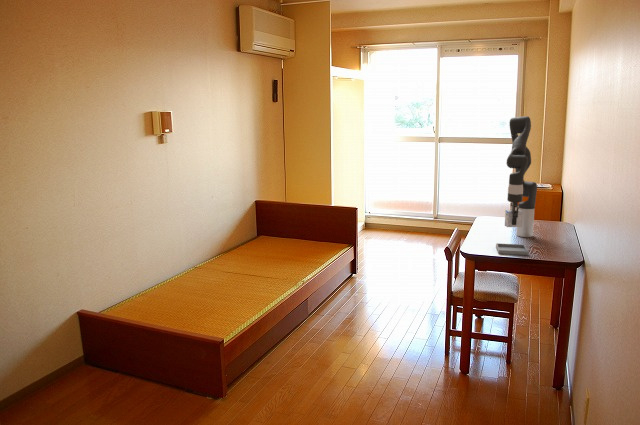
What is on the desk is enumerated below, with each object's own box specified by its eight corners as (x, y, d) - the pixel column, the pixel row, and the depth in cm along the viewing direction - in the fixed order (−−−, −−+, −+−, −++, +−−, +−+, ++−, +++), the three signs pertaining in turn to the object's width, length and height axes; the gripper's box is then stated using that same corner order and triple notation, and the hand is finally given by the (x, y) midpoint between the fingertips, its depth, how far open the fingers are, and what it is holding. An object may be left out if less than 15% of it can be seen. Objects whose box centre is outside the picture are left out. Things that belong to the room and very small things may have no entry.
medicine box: (518, 225, 286) (519, 209, 284) (522, 227, 281) (523, 211, 280) (504, 225, 286) (505, 210, 284) (507, 227, 281) (508, 211, 280)
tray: (495, 247, 295) (496, 243, 294) (524, 248, 291) (524, 244, 291) (498, 254, 281) (498, 250, 280) (528, 255, 277) (528, 251, 277)
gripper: (506, 190, 288) (504, 220, 291) (509, 194, 274) (507, 226, 277) (520, 190, 286) (518, 221, 289) (524, 194, 272) (522, 226, 276)
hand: (513, 223), depth 283 cm, fingers closed on medicine box, 5 cm apart
